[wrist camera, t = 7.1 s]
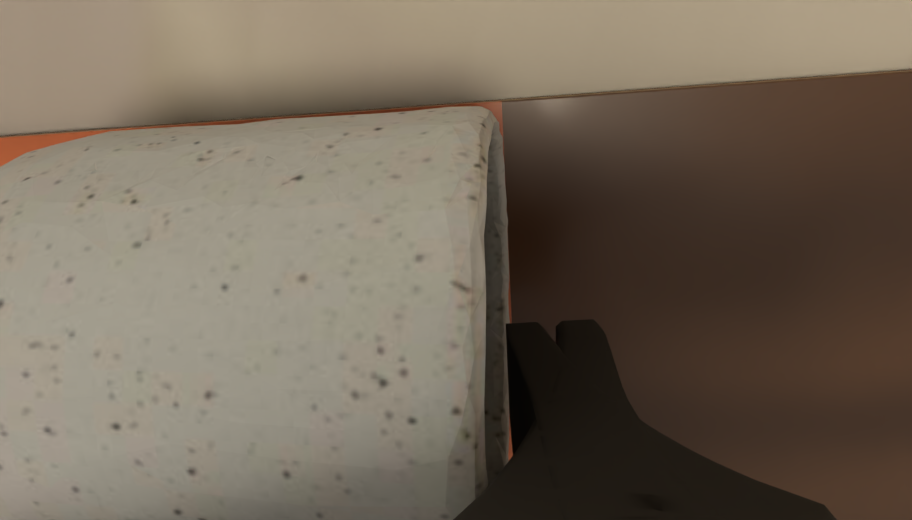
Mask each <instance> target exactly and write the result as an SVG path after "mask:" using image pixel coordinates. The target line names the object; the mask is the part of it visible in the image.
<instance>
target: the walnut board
mask: <svg viewBox="0 0 912 520" xmlns="http://www.w3.org/2000/svg"><path fill="white" fill-rule="evenodd" d="M464 106H481V107H484V108H486V109H488V110H490V111H491V112H492V113H493V115H494V116H495V118H496V119H497V121H498V122H499V131H500V133H501V135H502V137H503V156H504V164H505V187H506V199H507V207H506V211H507V217H508V227H507V234H508V258H509V290H508V305H509V320H510V323H526V322H538V323H539V324H540V325H542V326H543V327H544V329H545V330H546V331H547V333H548V334H549V335H550V337H551V338H552V339H553V340H554V341H555V343H556V326H557V325H558V324H559V323H560V322H561V321H567V320H588V319H594V320H595V321H596V322H597V323H598V324H599V325H600V327H601V328H602V329H603V331H604V332H605V334H606V337H607V340H608V343H609V346H610V349H611V352H612V355H613V358H614V362H615V365H616V368H617V371H618V374H619V377H620V380H621V383H622V387H623V389H624V391H625V394H626V396H627V398H628V400H629V402H630V404H631V405H632V407H633V409H634V410H635V412H636V414H637V415H638V417H639V419H640V420H642V421H643V422H644V423H646V424H647V425H649V426H651V427H652V428H654V429H655V430H657V431H659V432H660V433H662V434H664V435H665V436H667V437H669V438H671V439H672V440H674V441H676V442H678V443H679V444H681V445H683V446H685V447H687V448H688V449H690V450H692V451H694V452H696V453H698V454H700V455H702V456H704V457H706V458H708V459H710V460H712V461H714V462H716V463H718V464H721V465H723V466H725V467H727V468H730V469H732V470H734V471H736V472H738V473H741V474H743V475H745V476H747V477H750V478H752V479H755V480H757V481H760V482H763V483H765V484H768V485H771V486H774V487H776V488H779V489H782V490H785V491H788V492H790V493H793V494H796V495H799V496H801V497H804V498H807V499H810V500H813V501H815V502H818V503H821V504H824V505H825V506H826V507H827V508H828V510H829V511H830V512H831V513H832V514H833V516H834V517H835V518H836V519H837V520H912V70H901V71H887V72H874V73H860V74H846V75H833V76H819V77H805V78H791V79H778V80H764V81H750V82H737V83H723V84H709V85H696V86H682V87H668V88H654V89H641V90H627V91H613V92H600V93H586V94H572V95H559V96H545V97H531V98H517V99H504V100H490V101H476V102H463V103H449V104H435V105H422V106H408V107H394V108H380V109H367V110H353V111H339V112H326V113H312V114H298V115H285V116H271V117H257V118H243V119H230V120H216V121H202V122H189V123H175V124H161V125H148V126H134V127H120V128H106V129H93V130H79V131H65V132H52V133H38V134H24V135H11V136H0V166H2V165H4V164H6V163H8V162H10V161H12V160H13V159H15V158H17V157H19V156H21V155H23V154H25V153H27V152H30V151H34V150H37V149H41V148H45V147H48V146H52V145H55V144H59V143H63V142H67V141H71V140H75V139H79V138H83V137H87V136H92V135H96V134H100V133H105V132H109V131H121V130H136V129H151V128H167V127H184V126H207V125H230V124H244V123H251V122H259V121H267V120H274V119H288V118H306V117H324V116H342V115H359V114H376V113H390V112H405V111H415V110H424V109H433V108H443V107H464ZM512 456H513V451H512V439H511V427H510V414H509V452H508V458H509V460H510V459H511V458H512Z"/></svg>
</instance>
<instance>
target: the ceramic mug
mask: <svg viewBox="0 0 912 520" xmlns="http://www.w3.org/2000/svg"><path fill="white" fill-rule="evenodd" d="M506 207H507V199H506V187H505V164H504V156H503V137H502V135H501V133H500V131H499V122H498V121H497V119H496V118H495V116H494V115H493V113H492V112H491V111H490V110H488V109H486V108H484V107H481V106H464V107H443V108H433V109H424V110H415V111H405V112H390V113H376V114H359V115H342V116H324V117H306V118H288V119H274V120H267V121H259V122H251V123H244V124H230V125H207V126H184V127H167V128H151V129H136V130H121V131H109V132H105V133H100V134H96V135H92V136H87V137H83V138H79V139H75V140H71V141H67V142H63V143H59V144H55V145H52V146H48V147H45V148H41V149H37V150H34V151H30V152H27V153H25V154H23V155H21V156H19V157H17V158H15V159H13V160H12V161H10V162H8V163H6V164H4V165H2V166H0V520H453V519H454V518H455V517H457V516H458V515H459V514H460V513H461V512H462V511H463V510H464V509H465V508H466V507H467V506H468V505H470V504H471V503H472V502H473V501H474V500H475V499H476V498H477V497H478V496H479V495H480V494H481V493H482V492H483V491H484V490H485V489H486V488H487V487H488V486H489V485H490V483H491V482H492V481H493V480H494V479H495V477H496V476H497V475H498V474H499V473H500V471H501V470H502V469H503V468H504V467H505V465H506V464H507V463H508V462H509V458H508V452H509V391H508V367H507V343H506V323H510V320H509V305H508V290H509V258H508V234H507V227H508V217H507V211H506Z"/></svg>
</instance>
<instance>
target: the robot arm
mask: <svg viewBox="0 0 912 520" xmlns="http://www.w3.org/2000/svg"><path fill="white" fill-rule="evenodd" d="M506 343H507V367H508V391H509V414H510V427H511V439H512V451H513V456H512V458H511V459H510V460H509V462H508V463H507V464H506V465H505V467H504V468H503V469H502V470H501V471H500V473H499V474H498V475H497V476H496V477H495V479H494V480H493V481H492V482H491V483H490V485H489V486H488V487H487V488H486V489H485V490H484V491H483V492H482V493H481V494H480V495H479V496H478V497H477V498H476V499H475V500H474V501H473V502H472V503H471V504H470V505H468V506H467V507H466V508H465V509H464V510H463V511H462V512H461V513H460V514H459V515H458V516H457V517H455V518H454V519H453V520H837V519H836V518H835V517H834V516H833V514H832V513H831V512H830V511H829V510H828V508H827V507H826V506H825V505H824V504H821V503H818V502H815V501H813V500H810V499H807V498H804V497H801V496H799V495H796V494H793V493H790V492H788V491H785V490H782V489H779V488H776V487H774V486H771V485H768V484H765V483H763V482H760V481H757V480H755V479H752V478H750V477H747V476H745V475H743V474H741V473H738V472H736V471H734V470H732V469H730V468H727V467H725V466H723V465H721V464H718V463H716V462H714V461H712V460H710V459H708V458H706V457H704V456H702V455H700V454H698V453H696V452H694V451H692V450H690V449H688V448H687V447H685V446H683V445H681V444H679V443H678V442H676V441H674V440H672V439H671V438H669V437H667V436H665V435H664V434H662V433H660V432H659V431H657V430H655V429H654V428H652V427H651V426H649V425H647V424H646V423H644V422H643V421H642V420H640V419H639V417H638V415H637V414H636V412H635V410H634V409H633V407H632V405H631V404H630V402H629V400H628V398H627V396H626V394H625V391H624V389H623V387H622V383H621V380H620V377H619V374H618V371H617V368H616V365H615V362H614V358H613V355H612V352H611V349H610V346H609V343H608V340H607V337H606V334H605V332H604V331H603V329H602V328H601V327H600V325H599V324H598V323H597V322H596V321H595V320H594V319H588V320H567V321H561V322H560V323H559V324H558V325H557V326H556V343H555V341H554V340H553V339H552V338H551V337H550V335H549V334H548V333H547V331H546V330H545V329H544V327H543V326H542V325H540V324H539V323H538V322H526V323H506Z"/></svg>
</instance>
